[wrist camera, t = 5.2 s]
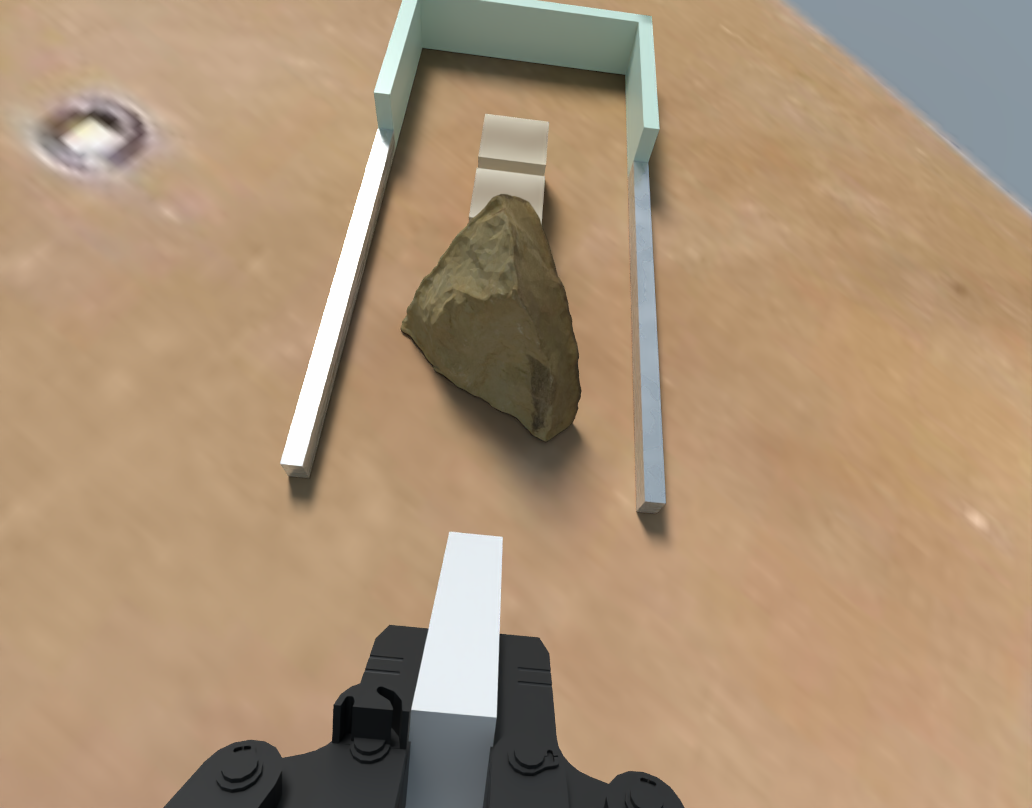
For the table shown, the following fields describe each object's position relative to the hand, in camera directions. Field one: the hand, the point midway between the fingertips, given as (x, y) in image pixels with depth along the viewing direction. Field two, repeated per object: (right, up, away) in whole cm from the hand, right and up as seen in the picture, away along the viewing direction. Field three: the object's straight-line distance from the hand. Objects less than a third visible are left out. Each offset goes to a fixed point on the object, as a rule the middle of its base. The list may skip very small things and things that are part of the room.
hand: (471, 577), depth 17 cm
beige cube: (+1, +19, +23) cm, 30 cm away
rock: (0, +6, +16) cm, 17 cm away
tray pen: (+1, +27, +27) cm, 38 cm away
